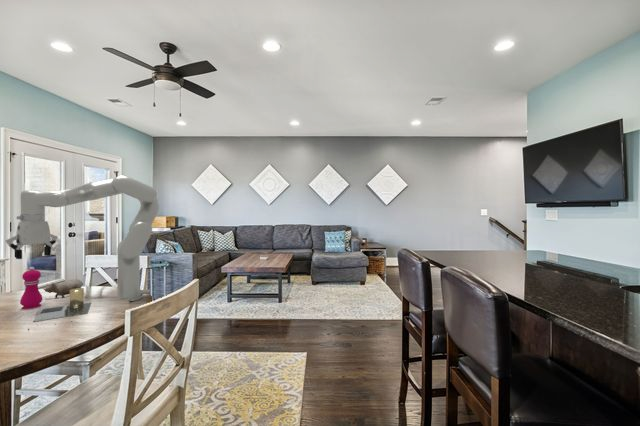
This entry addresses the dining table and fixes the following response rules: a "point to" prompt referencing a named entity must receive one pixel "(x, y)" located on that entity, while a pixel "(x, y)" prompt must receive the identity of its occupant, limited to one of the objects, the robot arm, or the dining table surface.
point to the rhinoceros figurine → (64, 287)
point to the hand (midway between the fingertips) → (33, 257)
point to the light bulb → (76, 298)
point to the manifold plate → (60, 312)
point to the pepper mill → (31, 289)
